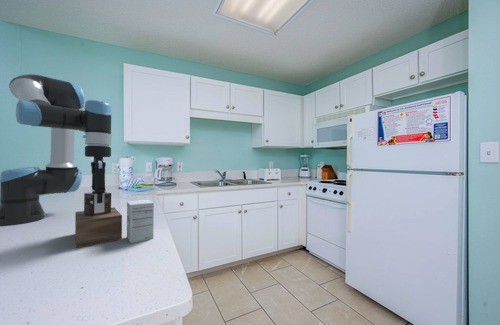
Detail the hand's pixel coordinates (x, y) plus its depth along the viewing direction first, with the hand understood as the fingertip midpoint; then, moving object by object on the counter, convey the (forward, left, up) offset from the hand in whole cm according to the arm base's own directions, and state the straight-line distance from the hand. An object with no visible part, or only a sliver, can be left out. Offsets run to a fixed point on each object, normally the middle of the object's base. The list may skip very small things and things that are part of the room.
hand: (97, 210), depth 74 cm
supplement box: (+11, +11, -9) cm, 18 cm away
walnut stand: (0, 0, -9) cm, 9 cm away
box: (0, 0, -1) cm, 1 cm away
